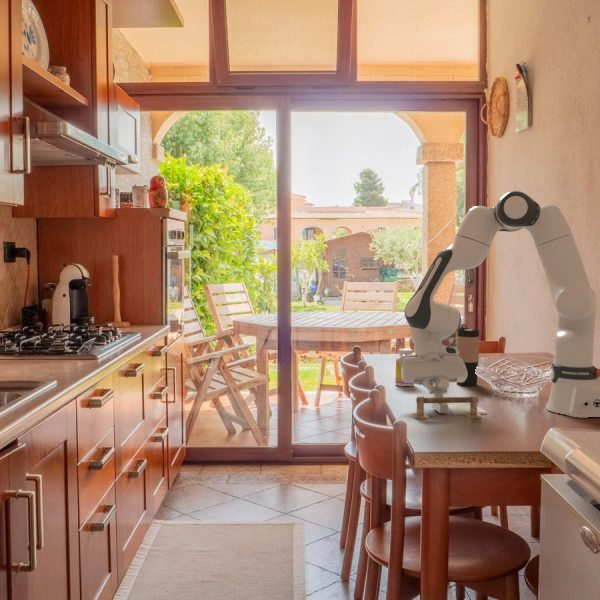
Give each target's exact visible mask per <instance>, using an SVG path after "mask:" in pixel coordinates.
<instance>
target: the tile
mask: <svg viewBox="0 0 600 600" xmlns="http://www.w3.org/2000/svg"><path fill="white" fill-rule="evenodd" d="M447 405H448V412H450V413H452V414H454V415H457V416H458V415H465V413H470V404H447ZM477 413H479V414H480V415H488V411H486V410H485V409H483V408H482V407H481V406H480V407H479V406H478V405H477Z"/></svg>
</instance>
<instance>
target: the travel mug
mask: <svg viewBox="0 0 600 600" xmlns="http://www.w3.org/2000/svg"><path fill="white" fill-rule="evenodd" d="M479 347H480V329H479V328H473V329H469V327H467V328H459V330H458V338H457V349H458V350H459V357H461V358H462V359H463V361H464V363H465V366H466V369H467V372H468V376H467V378H466V380H465V381H464V382H456V386H457V385H458V386H460V387H476V386H477V385H478V376H477V375H476V374H475V369H476V367H477V366H478V367H479V358H480V357H479V353H480V350H479V349H480V348H479Z"/></svg>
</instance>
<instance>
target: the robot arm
mask: <svg viewBox="0 0 600 600" xmlns="http://www.w3.org/2000/svg"><path fill="white" fill-rule="evenodd" d="M522 229H526V230H527V231H528V232H529V233H530V235H531V237H532V239H533V242H534V245H535V248H536V252H537V254H538V257H539V259H540V262H541V265H542V267H543V271H544V274H545V278H546V281H547V285H548V288H549V291H550V294H551V298H552V301H553V303H554V307H555V310H556V311H557V312H556V313H557V314H556V323H555V335H554V349H553V351H554V354H553V363H552V366H551V371H550V373H551V374H550V375H551V376H550V377H551V389H550V394H549V397H548V401H547V404H546V407H545V409H546V410H548V411H550V412H552V413H556V414H559V413H560V414H561V415H564V414H565V415H566V416H569V417H573V418H577V417H578V419H579V418H581V419H584V418H587V419H588V417H600V378H599V377H600V368H597V367H596V366H594V365H593V363H594V362H593V361H594V345H595V344H594V341H595V328H596V327H595V326H596V312H597V310H596V309H597V296H596V293H595V290H594V289H593V288H592V287H591V285H590V282H589V279H588V275H587V272H586V269H585V267H584V266H585V265H584V263H583V260H582V257H581V253H580V252H579V248H578V247H577V246H578V245H577V243H576V240H575V238H574V234H573V232H572V229H571V227H570V224H569V222H568V221H567V219H566V217H565V215H564V214H563V212H562V210H561V208H559V206H557V205H555V204H543V205H540V204H539V203H538V202H536V201H535V200H534V199H533V198H531V197H530V196H529V195H528V194H526V193H524V192H522V191H520V190H519V191H518V190H512V191H508V192H506V193H504V194H503V195H502V196H501V197H500V198H499V199H498V201H497V202H496V204H495V205H494V206H493V207H487V206H484V205H477V206H472V207H471V208H469V209H468V211H467V213H466V214H465V216H464V217H463V219H462V221H461V223H460V225H459V227H458V229H457V232H456V234H455V237H454V238H453V240H452V241H451V243H450V245H448V247H446V248H445V249H441V251H439V252H438V254H437V255H436V256H435V258H434V260H433V261H432V262H431V264H430V267H429V269H428V270H427V272H426V274H424V275H425V276H424V277H423V279H422V281H421V282H420V284H419V286H418V288H417V289H416V291H415V292H414V294H413V295H412V296H411V298H410V299H409V300H408V302H407V303H406V305H405V307H404V308H405V309H404V317H405V319H406V322H407V324H408V325H409V331H410V332H409V334H410V337H411V341H412V343H413V351H414V352H415V355H409V356H407V355H403V356H402V357H400V358H399V360H398V361H399V365H400V367H401V377H402V381H404V382H405V383H414V384H415V383H416V384H418V383H419V384H423V386H424V387H425V388H426V389H427V391H428V393H429V395H430V394H431V395H433V394H434V393H435V387H434V386H433V385H431V383H432V384H433V375H442V376H444V377H446V378H447V379H449V384H450V383H457V382H464V381H465V380H466V378H467V376H468V372H467V369H466V366H465V363H464V361H463V359H462V358H461V357H459V350H458V349H456V348H452V347H448V346H445V345H443V344H441V341H442V340H446V339H447V338H449V337H450V336H452V335H453V334H455V333H456V332H457V331H458V330H459V328H460V325H461V322H462V316H461V312H460V310H459V309H458V308H456V307H455V306H454V307H453V306H451V305H449V304H446V303H443V302H439V301H437V300H435V299H434V297H435V295H436V294H437V292H438V290H439V288H440V286H441V284H442V282H443V281H444V279H445V278H446V277H447V276H448V274H450V273H451V272H455V271H462V270H463V271H464V270H472V269H475V268H477V267H480V266H481V265H482V264H483V262H484V261H485V260H486V258H487V257H488V253H489V250H490V247H491V245H492V243H493V240H494V239H495V238H494V237H495V236H496V234H497V233H498V232H517V231H520V230H522ZM414 352H413V353H414ZM446 394H448V388H443V395H446ZM560 414H559V415H560Z"/></svg>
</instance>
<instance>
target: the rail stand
mask: <svg viewBox="0 0 600 600" xmlns="http://www.w3.org/2000/svg"><path fill="white" fill-rule="evenodd" d="M415 401H416V413H413V412H412V414H411V415H412V417H413V419H414V420H428V419H429V415H427V414H426V413H425V412H424V411H425V409H424V408H425V407H424V406H425V404H433V403H446V404H461V403H462V404H463V403H465V404H469V405H470V413H465V414H464V416H466V417H467V418H468V419H482V417H483V414H479V413H477V406H478V403H479V397H478V396H477V395H471V396H464V397H463V396H460V397H459V396H458V397H457V396H455V397H454V396H452V397H451V396H450V397H444V396H443V397H437V398H433V397H425V396H421V395H420V396H417V397H416V398H415Z"/></svg>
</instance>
